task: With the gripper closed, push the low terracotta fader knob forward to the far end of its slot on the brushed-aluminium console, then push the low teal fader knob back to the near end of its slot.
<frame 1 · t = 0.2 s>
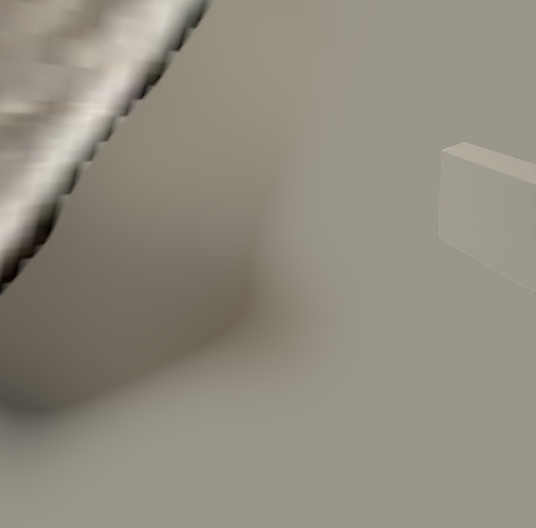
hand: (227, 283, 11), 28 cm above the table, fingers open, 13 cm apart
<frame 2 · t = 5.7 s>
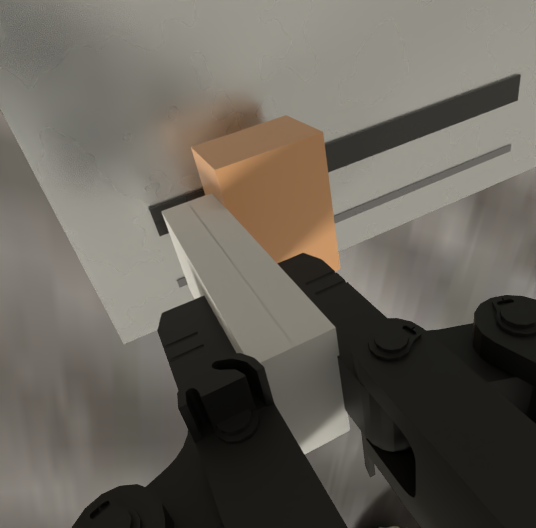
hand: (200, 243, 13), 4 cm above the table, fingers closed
fader a: (264, 206, 14), point 4 cm above the table, slide at -4.3 cm, touching gripper
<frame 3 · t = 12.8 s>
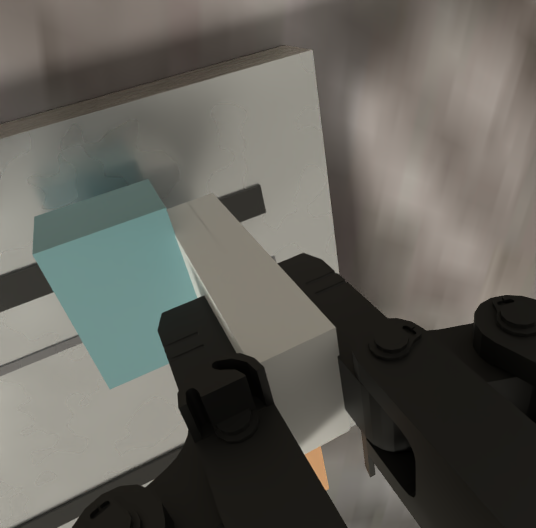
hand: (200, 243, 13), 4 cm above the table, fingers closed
fader a: (273, 446, 19), point 4 cm above the table, slide at 5.2 cm
console: (92, 359, 17), on the table
fader b: (126, 276, 12), point 4 cm above the table, slide at 2.6 cm, touching gripper
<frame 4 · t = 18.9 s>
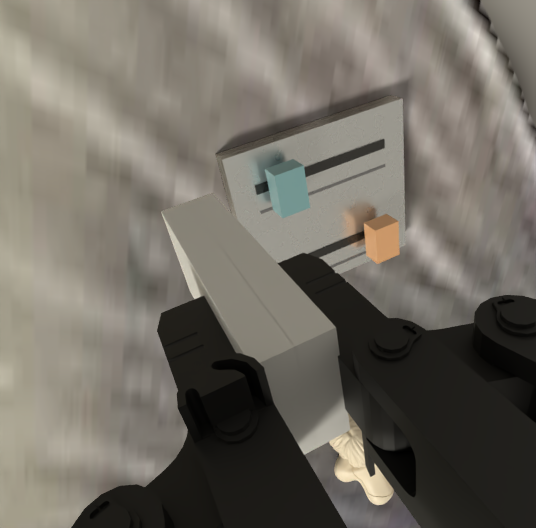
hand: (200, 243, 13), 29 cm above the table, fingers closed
fader a: (379, 237, 51), point 4 cm above the table, slide at 5.2 cm
figurine: (352, 430, 74), on the table
console: (318, 202, 50), on the table
fader b: (286, 187, 43), point 4 cm above the table, slide at -5.0 cm
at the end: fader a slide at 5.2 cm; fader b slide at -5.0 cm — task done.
